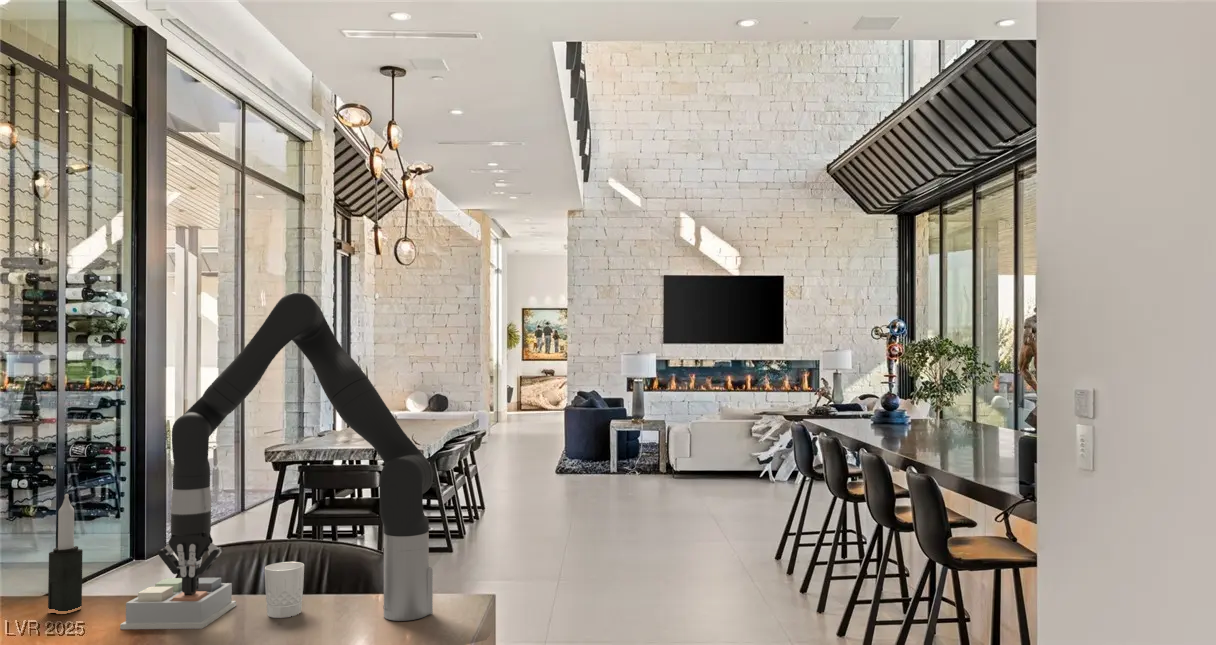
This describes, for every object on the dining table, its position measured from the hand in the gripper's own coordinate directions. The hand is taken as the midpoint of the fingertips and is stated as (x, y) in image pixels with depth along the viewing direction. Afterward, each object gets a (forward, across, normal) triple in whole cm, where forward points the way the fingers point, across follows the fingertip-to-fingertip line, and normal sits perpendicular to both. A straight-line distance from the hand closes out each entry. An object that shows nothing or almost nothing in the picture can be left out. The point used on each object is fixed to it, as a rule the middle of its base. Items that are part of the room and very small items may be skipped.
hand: (190, 594), depth 183 cm
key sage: (+2, +7, -7) cm, 10 cm away
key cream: (+2, +7, 0) cm, 7 cm away
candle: (+6, +31, -8) cm, 32 cm away
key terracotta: (+3, 0, 0) cm, 3 cm away
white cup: (+6, -18, -5) cm, 19 cm away
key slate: (+2, 0, -7) cm, 7 cm away
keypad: (+6, +3, -3) cm, 7 cm away
